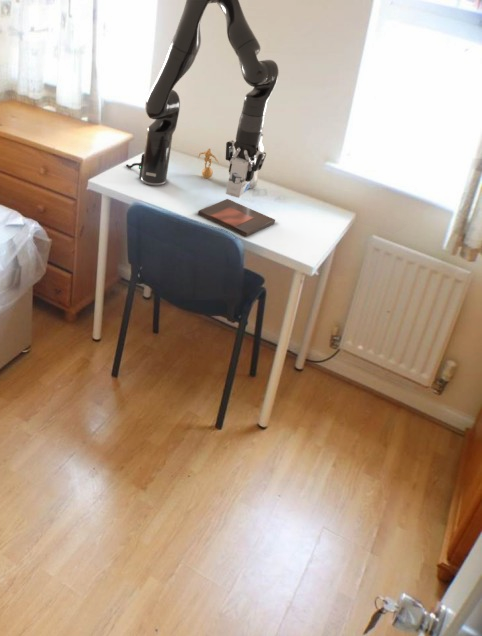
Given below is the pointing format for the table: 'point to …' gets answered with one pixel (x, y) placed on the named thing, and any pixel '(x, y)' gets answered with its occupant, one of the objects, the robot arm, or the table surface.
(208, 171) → the figurine
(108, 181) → the table surface
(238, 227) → the counter board
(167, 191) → the table surface
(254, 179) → the plastic bottle
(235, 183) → the ink box
